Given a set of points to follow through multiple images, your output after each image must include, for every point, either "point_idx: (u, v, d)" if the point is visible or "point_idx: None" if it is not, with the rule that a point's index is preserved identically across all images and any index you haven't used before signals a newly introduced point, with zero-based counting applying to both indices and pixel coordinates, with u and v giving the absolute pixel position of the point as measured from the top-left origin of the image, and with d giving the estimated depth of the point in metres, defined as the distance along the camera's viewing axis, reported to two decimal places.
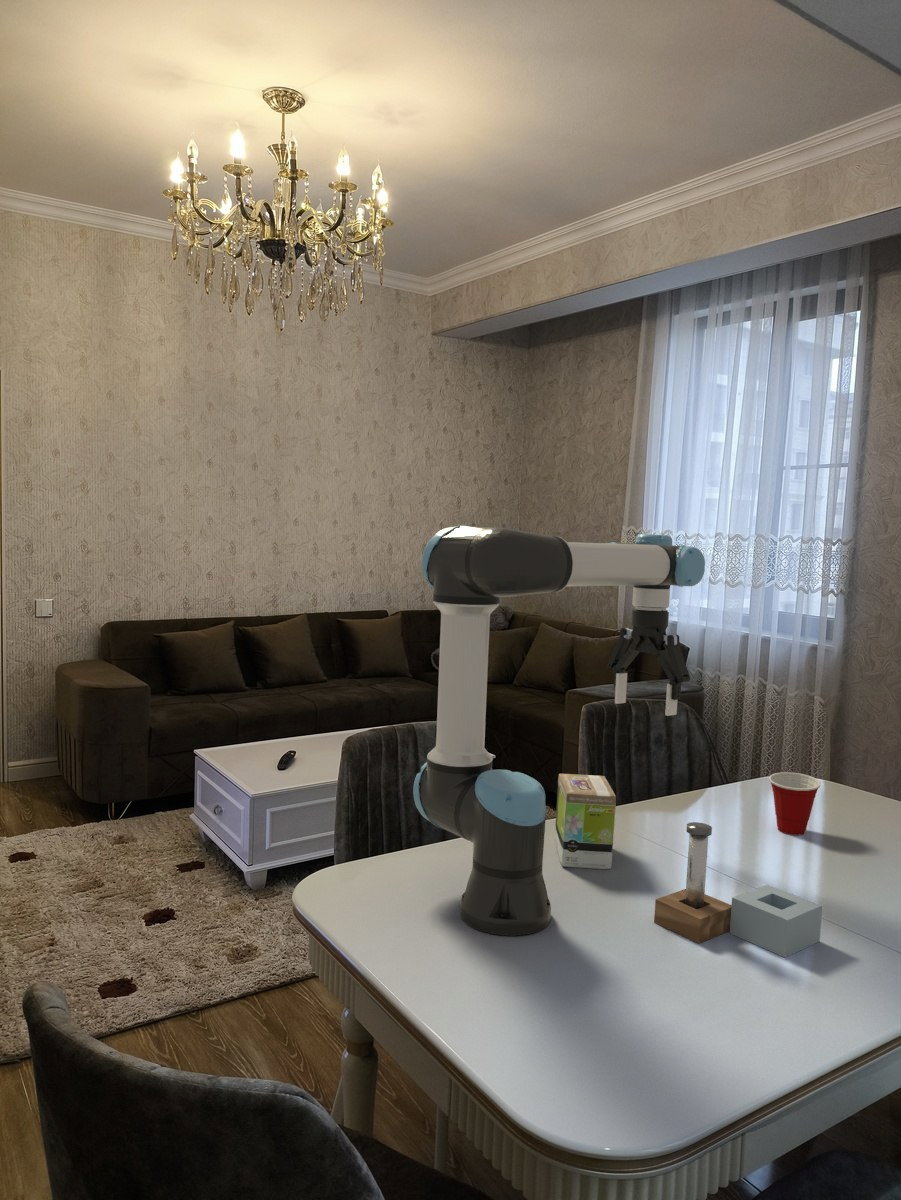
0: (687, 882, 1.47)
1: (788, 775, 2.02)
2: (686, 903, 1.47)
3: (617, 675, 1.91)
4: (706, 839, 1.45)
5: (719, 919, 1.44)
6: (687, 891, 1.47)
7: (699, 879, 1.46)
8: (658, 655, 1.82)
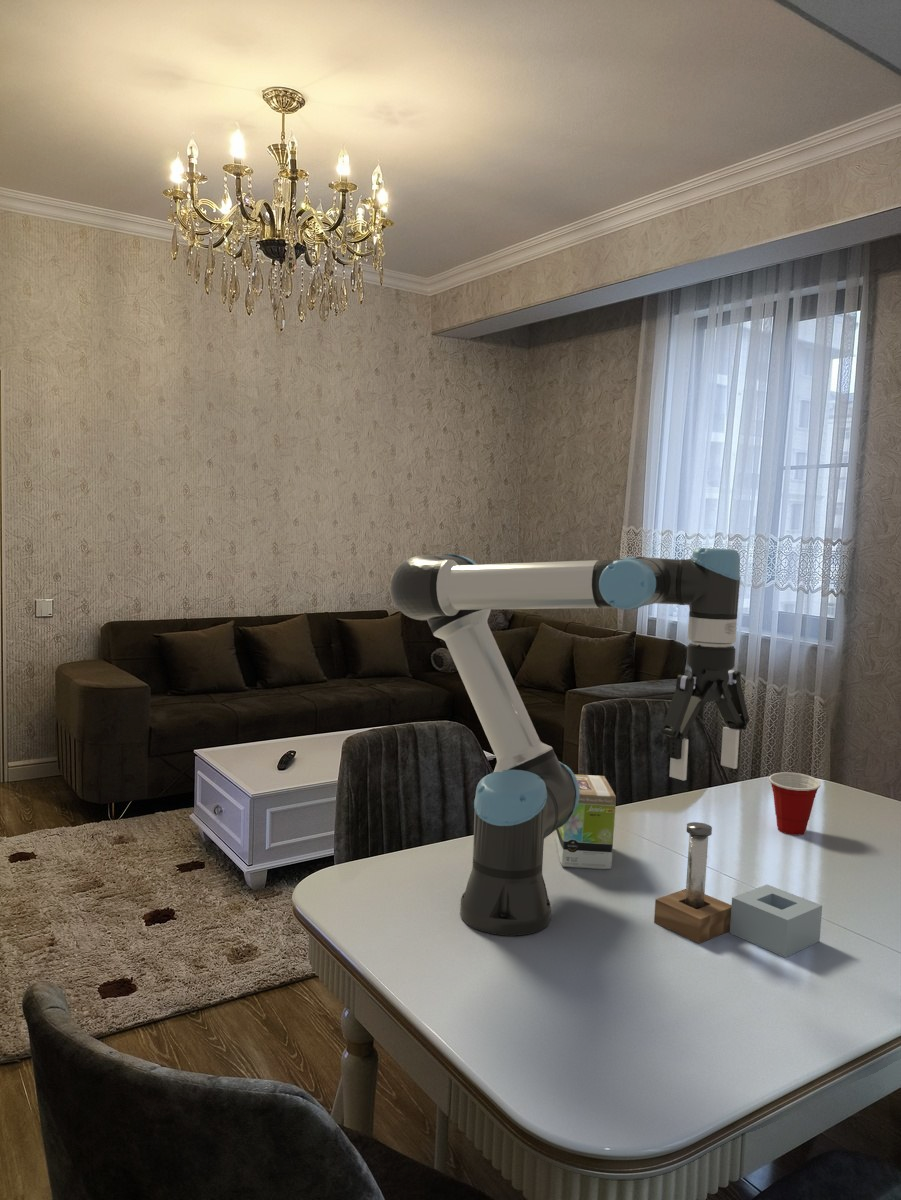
0: (687, 882, 1.47)
1: (788, 775, 2.02)
2: (686, 903, 1.47)
3: None
4: (706, 839, 1.45)
5: (719, 919, 1.44)
6: (687, 891, 1.47)
7: (699, 879, 1.46)
8: None
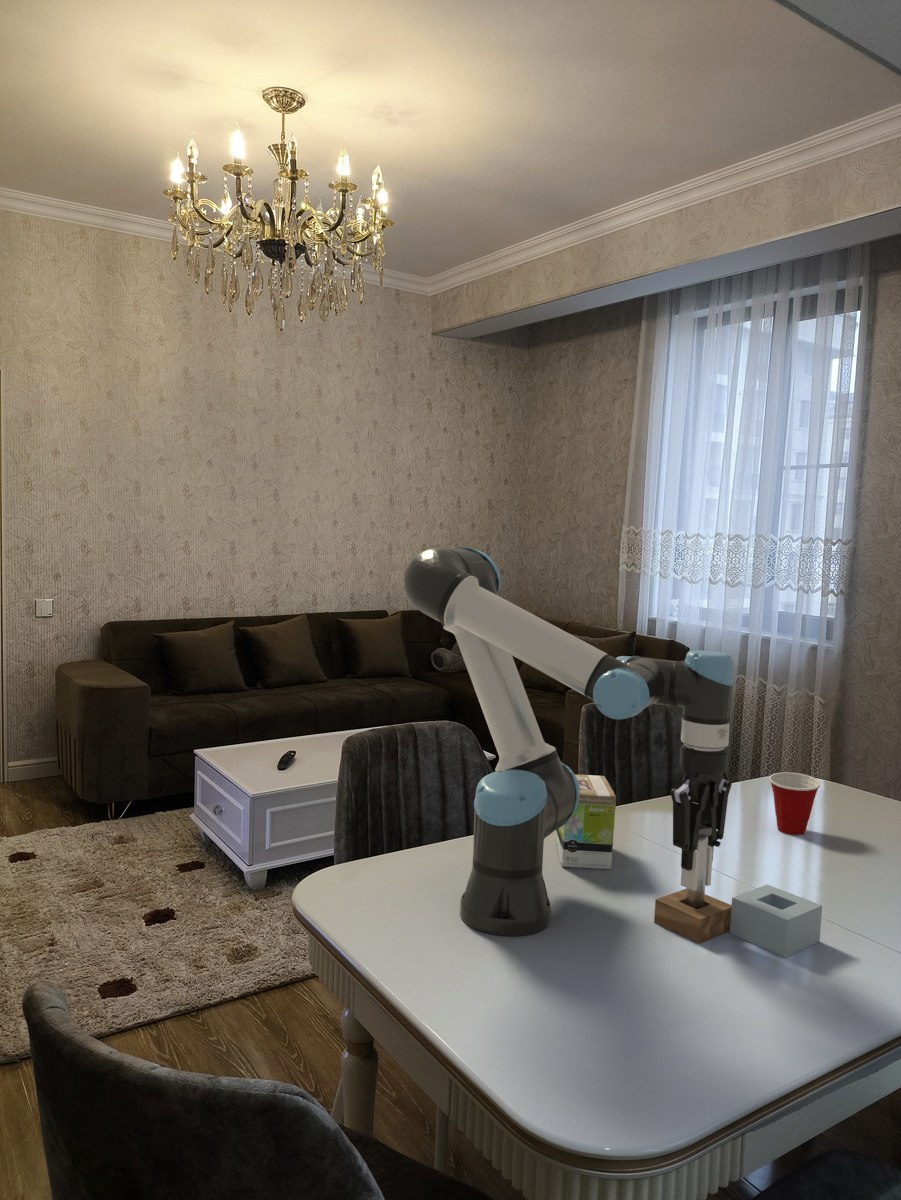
0: None
1: (788, 775, 2.02)
2: (686, 903, 1.47)
3: None
4: (706, 839, 1.45)
5: (719, 919, 1.44)
6: (687, 891, 1.47)
7: (699, 879, 1.46)
8: None
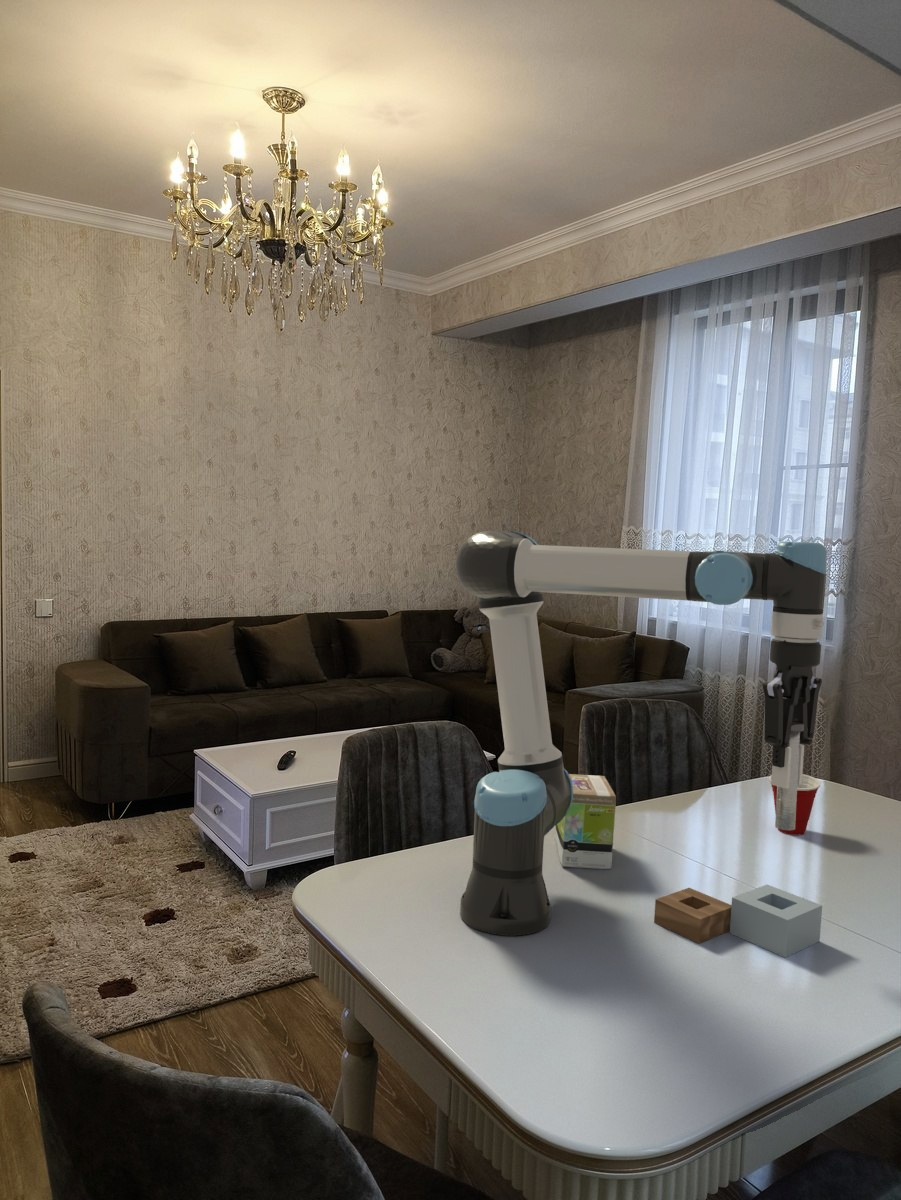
0: None
1: None
2: (778, 803, 1.42)
3: None
4: (798, 735, 1.41)
5: (719, 919, 1.44)
6: (779, 790, 1.42)
7: (792, 776, 1.41)
8: None
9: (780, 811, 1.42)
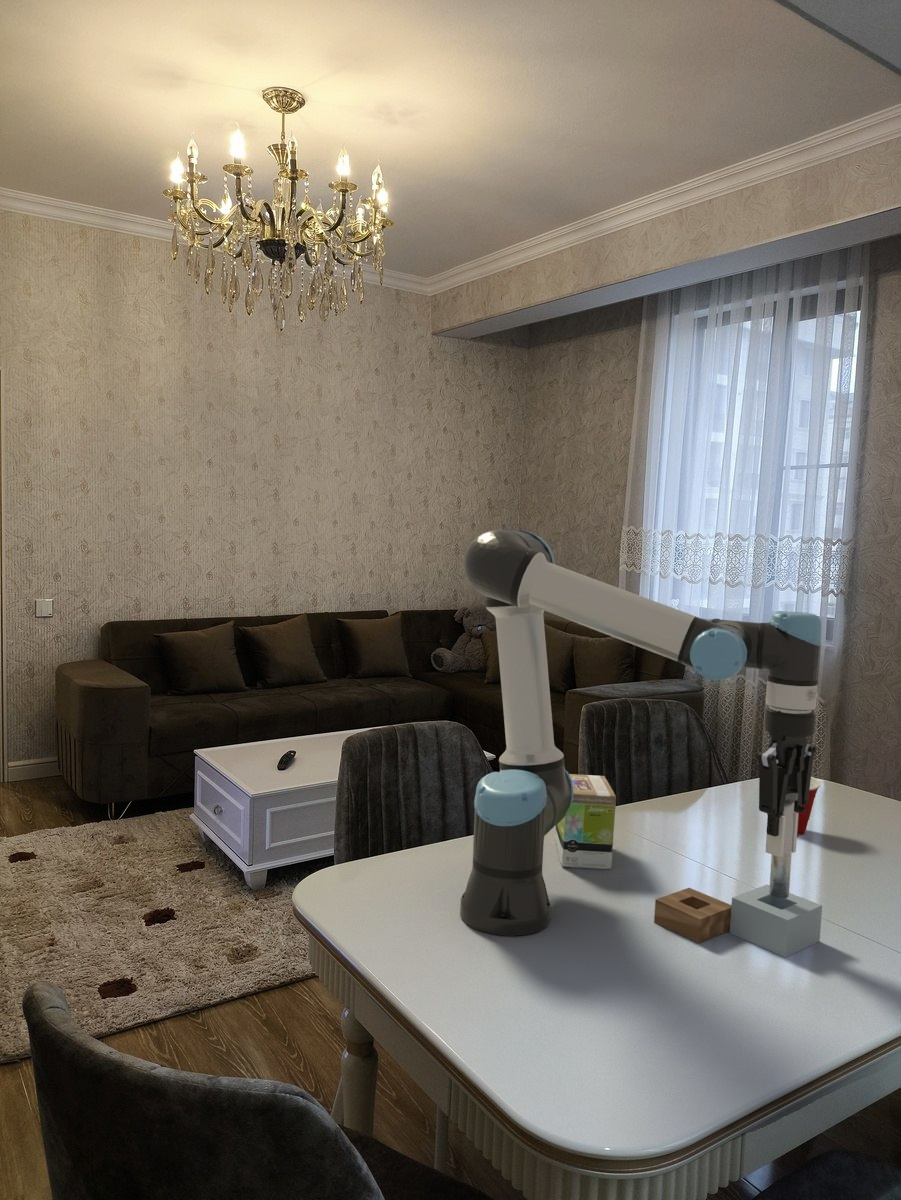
0: None
1: None
2: (772, 871, 1.43)
3: None
4: (792, 804, 1.42)
5: (719, 919, 1.44)
6: (773, 858, 1.43)
7: (786, 845, 1.42)
8: None
9: (774, 879, 1.43)
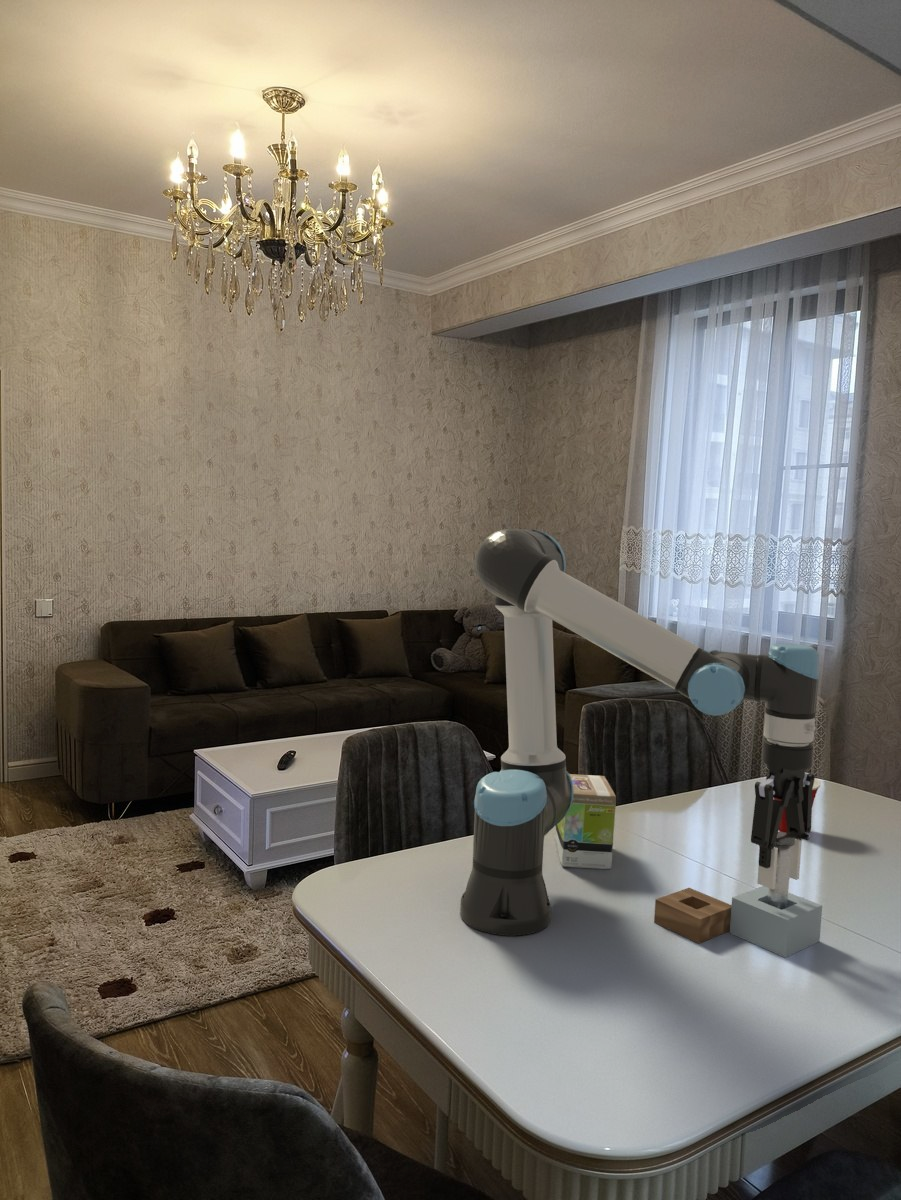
0: (769, 893, 1.44)
1: None
2: None
3: None
4: (789, 849, 1.42)
5: (719, 919, 1.44)
6: (769, 902, 1.44)
7: (783, 889, 1.42)
8: None
9: None
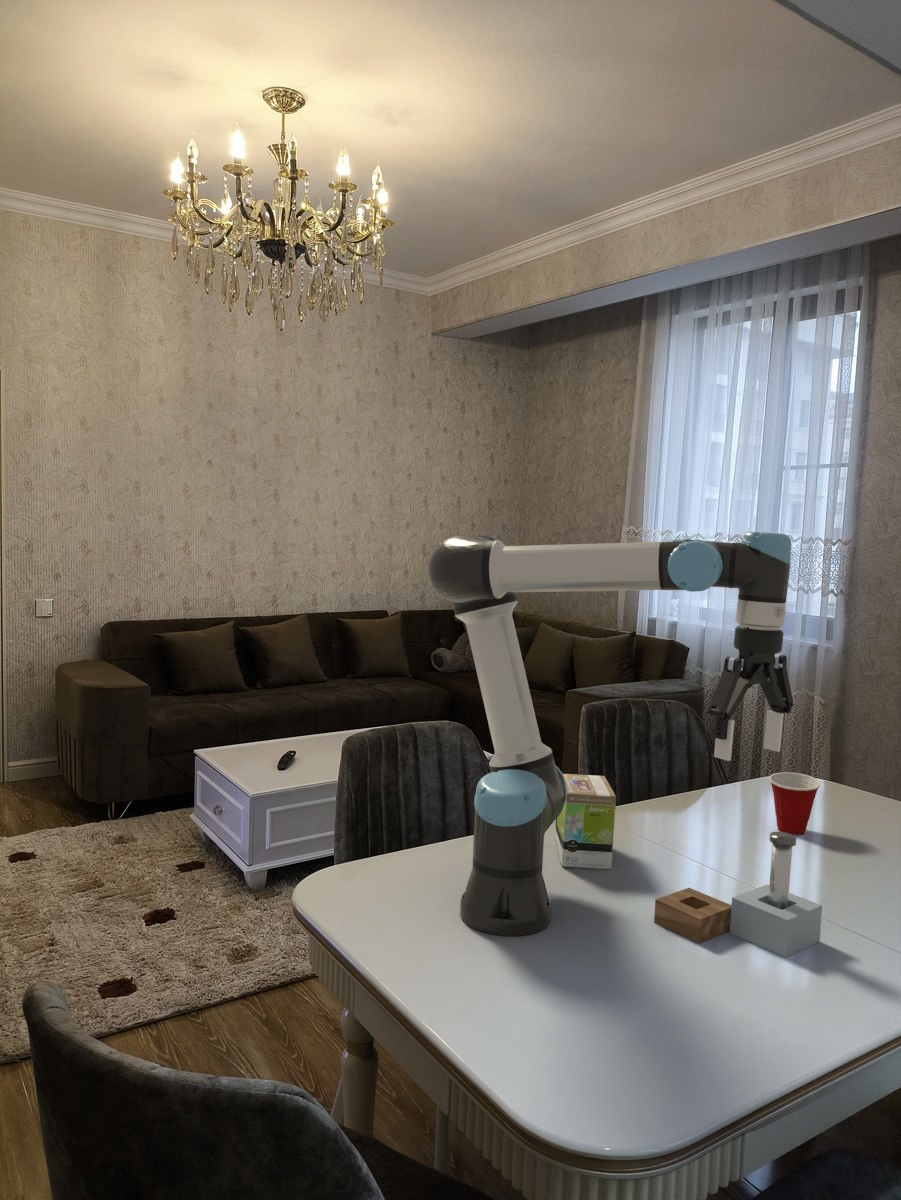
0: (770, 893, 1.44)
1: (788, 775, 2.02)
2: None
3: None
4: (790, 849, 1.42)
5: (719, 919, 1.44)
6: (770, 902, 1.44)
7: (783, 889, 1.42)
8: None
9: None
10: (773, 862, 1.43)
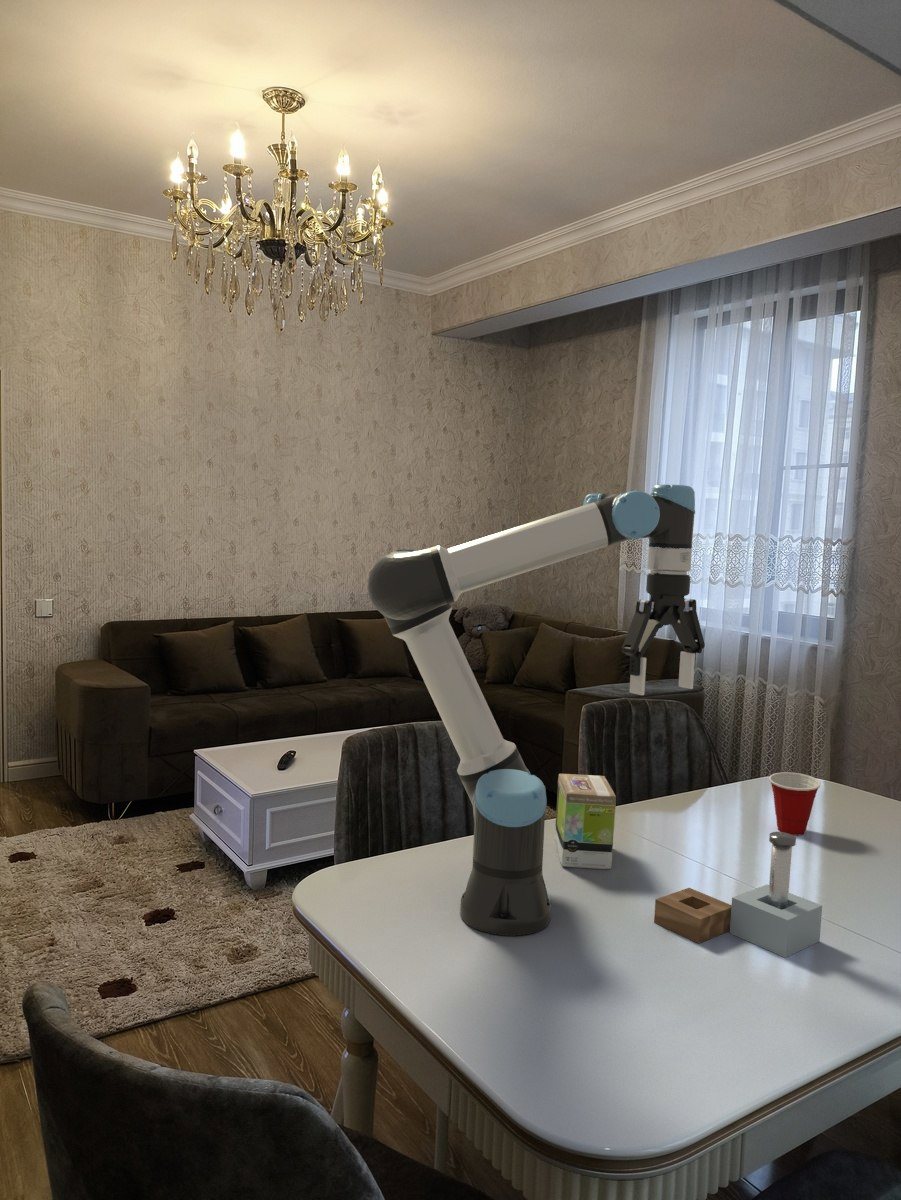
0: (770, 893, 1.44)
1: (788, 775, 2.02)
2: None
3: None
4: (790, 849, 1.42)
5: (719, 919, 1.44)
6: (770, 902, 1.44)
7: (783, 890, 1.42)
8: None
9: None
10: (773, 862, 1.43)
